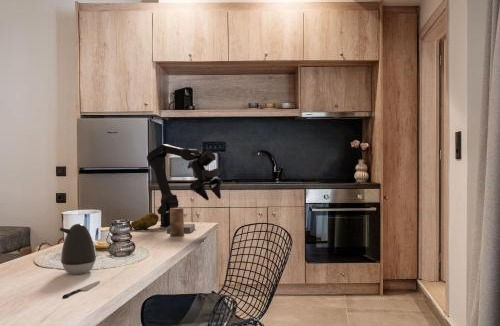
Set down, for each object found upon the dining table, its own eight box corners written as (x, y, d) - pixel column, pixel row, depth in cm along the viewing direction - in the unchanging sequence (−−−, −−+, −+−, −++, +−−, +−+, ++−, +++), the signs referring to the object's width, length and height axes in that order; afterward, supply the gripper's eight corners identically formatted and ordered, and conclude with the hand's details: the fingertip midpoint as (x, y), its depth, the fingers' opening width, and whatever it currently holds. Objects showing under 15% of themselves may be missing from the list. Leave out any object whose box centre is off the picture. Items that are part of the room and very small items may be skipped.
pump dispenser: (60, 270, 153) (59, 222, 153) (94, 267, 157) (93, 220, 157) (61, 278, 144) (60, 227, 144) (97, 274, 148) (96, 224, 148)
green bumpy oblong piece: (136, 227, 242) (135, 211, 242) (160, 228, 240) (160, 212, 240) (129, 230, 234) (128, 213, 234) (154, 230, 232) (154, 214, 231)
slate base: (166, 232, 225) (166, 227, 225) (172, 229, 236) (172, 223, 236) (190, 232, 224) (190, 227, 224) (194, 229, 235) (194, 223, 235)
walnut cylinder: (168, 236, 215) (168, 209, 215) (172, 234, 221) (171, 207, 221) (182, 236, 214) (181, 209, 214) (185, 234, 220) (184, 207, 220)
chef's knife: (110, 281, 141) (101, 280, 142) (110, 277, 141) (101, 276, 142) (71, 300, 123) (61, 299, 123) (71, 296, 123) (61, 294, 123)
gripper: (197, 162, 223) (212, 191, 219) (222, 162, 239) (237, 189, 234) (183, 175, 229) (197, 204, 224) (208, 174, 244) (222, 200, 239)
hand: (214, 199), depth 230 cm, fingers open, 9 cm apart
